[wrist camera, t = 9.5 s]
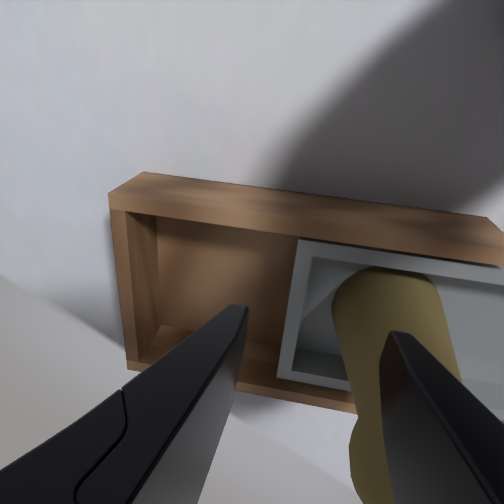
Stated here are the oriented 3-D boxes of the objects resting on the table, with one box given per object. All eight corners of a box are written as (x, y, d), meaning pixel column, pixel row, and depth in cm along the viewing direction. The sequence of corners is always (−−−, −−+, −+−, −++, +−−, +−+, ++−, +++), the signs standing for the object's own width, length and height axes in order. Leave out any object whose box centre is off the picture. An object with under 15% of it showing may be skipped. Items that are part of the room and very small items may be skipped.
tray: (702, 250, 17) (798, 297, 14) (577, 414, 23) (623, 477, 19) (304, 197, 19) (300, 226, 16) (278, 359, 25) (272, 407, 22)
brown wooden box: (486, 217, 19) (524, 252, 16) (419, 377, 25) (435, 429, 21) (143, 171, 21) (107, 193, 18) (152, 329, 27) (127, 369, 23)
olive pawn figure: (311, 293, 21) (303, 485, 12) (410, 245, 19) (505, 434, 9) (362, 363, 23) (393, 579, 13) (460, 326, 21) (582, 558, 11)
